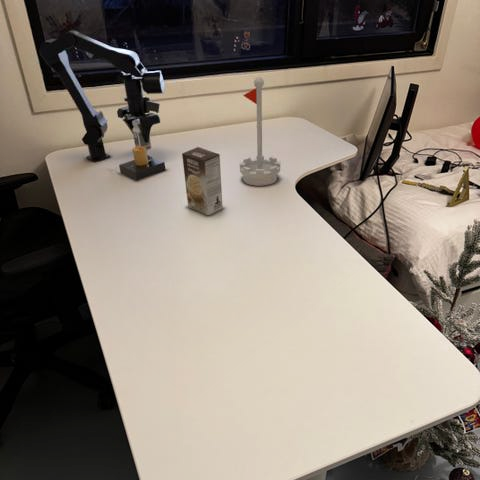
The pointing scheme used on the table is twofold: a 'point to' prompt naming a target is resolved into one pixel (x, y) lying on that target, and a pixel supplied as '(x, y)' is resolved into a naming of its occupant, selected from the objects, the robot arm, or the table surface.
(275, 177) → the flag stand
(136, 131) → the pill bottle
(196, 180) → the coffee box
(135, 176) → the black flat block
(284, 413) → the table surface
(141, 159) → the handle
